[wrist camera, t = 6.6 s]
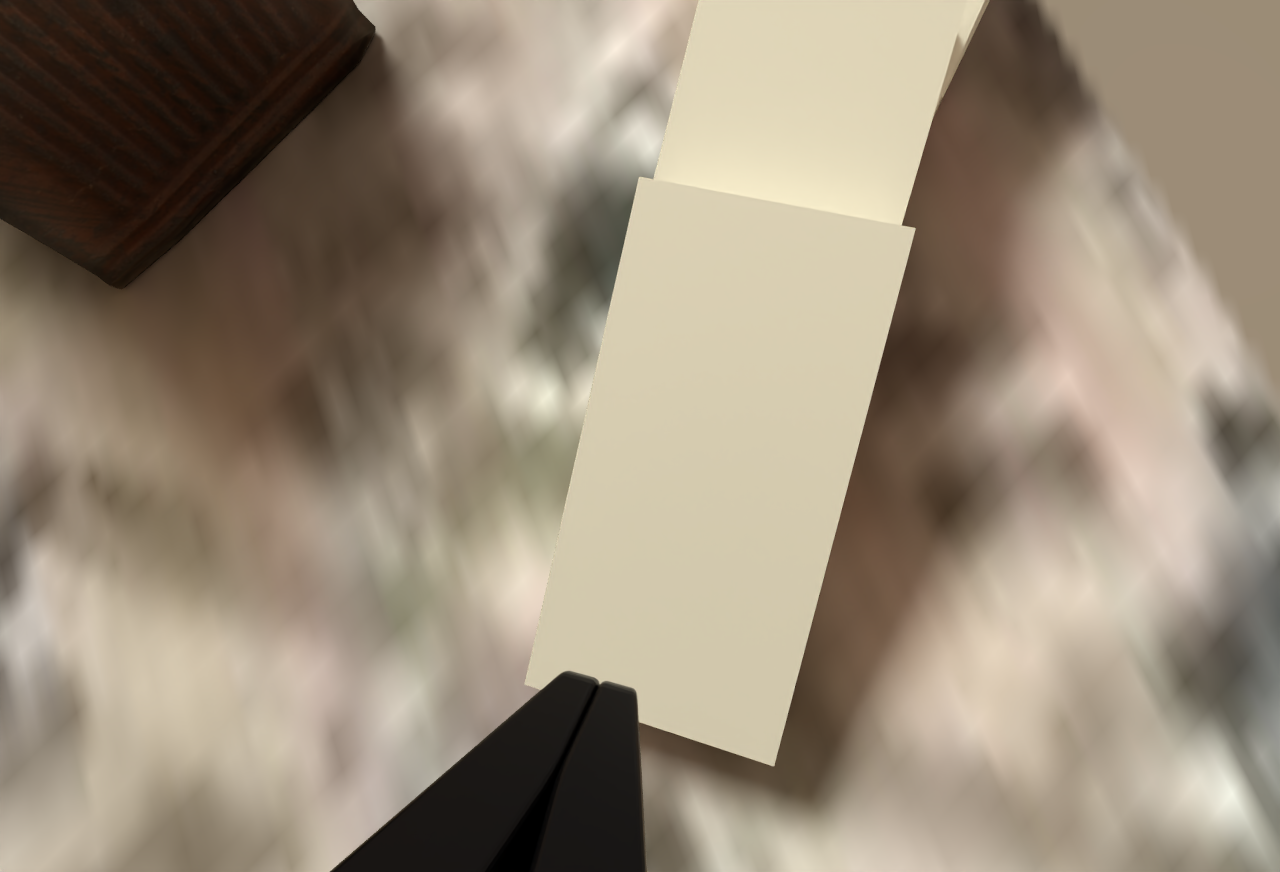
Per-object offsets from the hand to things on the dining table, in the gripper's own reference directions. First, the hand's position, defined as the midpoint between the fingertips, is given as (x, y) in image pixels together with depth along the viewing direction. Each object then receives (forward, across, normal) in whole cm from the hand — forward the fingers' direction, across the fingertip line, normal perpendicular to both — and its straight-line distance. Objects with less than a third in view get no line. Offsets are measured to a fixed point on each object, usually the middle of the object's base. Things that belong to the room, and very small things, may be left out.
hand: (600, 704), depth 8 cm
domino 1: (+8, 0, +2) cm, 9 cm away
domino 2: (+5, 0, +6) cm, 7 cm away
